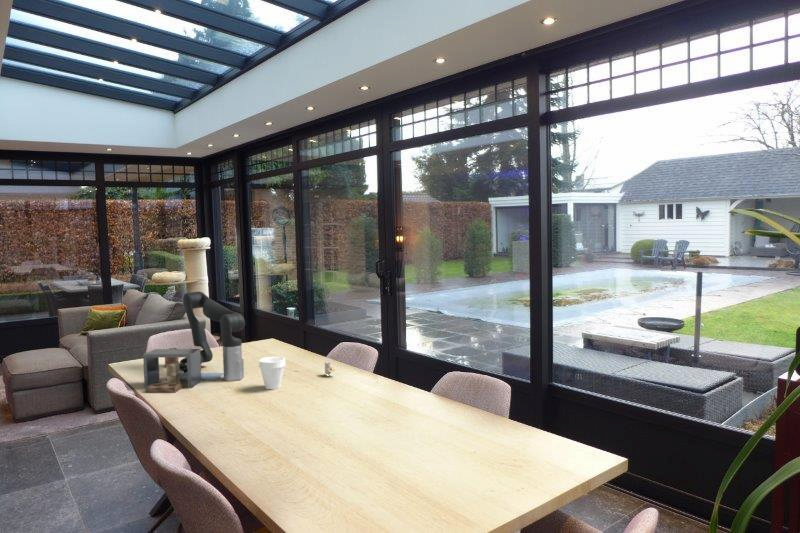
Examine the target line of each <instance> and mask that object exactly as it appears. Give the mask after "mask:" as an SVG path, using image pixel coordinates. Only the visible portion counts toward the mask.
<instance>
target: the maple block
mask: <svg viewBox="0 0 800 533" xmlns="http://www.w3.org/2000/svg"><path fill="white" fill-rule="evenodd" d="M179 363H180V361H179V362H169V363H167V364H166V367H165V371H166V379H167V380H166V383H181V380H180V373H181V371H180V369H179Z"/></svg>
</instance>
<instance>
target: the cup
mask: <svg viewBox="0 0 800 533" xmlns="http://www.w3.org/2000/svg"><path fill="white" fill-rule="evenodd" d="M258 362H259V365H258V367H259V369H260V372H261V376H262V380H263V384H264V387H265V390H268V389H274V390H278V389H277V388H279V389H281V385H282V380H283V376H284V370H285V367H286V358H285V357H283V356H269V357H267V356H266V357H263V358H260V359H259V360H258Z"/></svg>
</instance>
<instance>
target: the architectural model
mask: <svg viewBox="0 0 800 533" xmlns="http://www.w3.org/2000/svg"><path fill="white" fill-rule="evenodd" d="M333 372H335V373H336V372H337V370H336V369H334V368H333V367H331V362H327V361H324V374H325V373H326V374H328V375H329V374H330V375H331V373H333ZM330 375H329V376H330Z"/></svg>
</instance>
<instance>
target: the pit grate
mask: <svg viewBox="0 0 800 533" xmlns="http://www.w3.org/2000/svg"><path fill="white" fill-rule="evenodd" d="M182 385H183V384H182V383H181V382H180V383H167V382H166V383H161V382H160V383H159V382H158V383H153V384H151V385H149V386H147V387H146V388H145V394H146V393H150V394H152V393H155V394H157V393H164V394H166V393H168V394H169V393H171V394H172V393H173V394H174V393H177V392H178V390H179V391H180V390H181V388H183V387H182Z"/></svg>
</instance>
